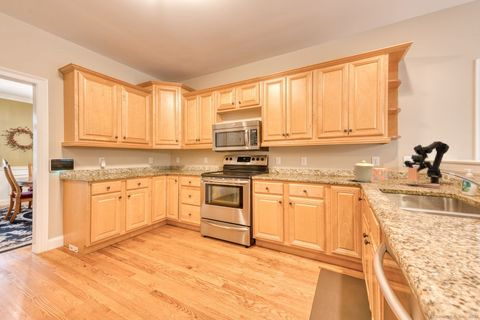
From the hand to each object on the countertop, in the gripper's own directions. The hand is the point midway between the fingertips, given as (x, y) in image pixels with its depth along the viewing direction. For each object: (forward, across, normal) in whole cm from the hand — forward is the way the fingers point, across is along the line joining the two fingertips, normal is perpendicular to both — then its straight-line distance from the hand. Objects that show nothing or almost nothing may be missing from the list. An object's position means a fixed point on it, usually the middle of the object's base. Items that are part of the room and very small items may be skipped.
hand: (413, 171), depth 178 cm
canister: (+18, -36, 0) cm, 41 cm away
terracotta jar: (+4, 0, +6) cm, 7 cm away
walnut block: (+6, +9, +13) cm, 17 cm away
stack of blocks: (0, -43, +19) cm, 47 cm away
